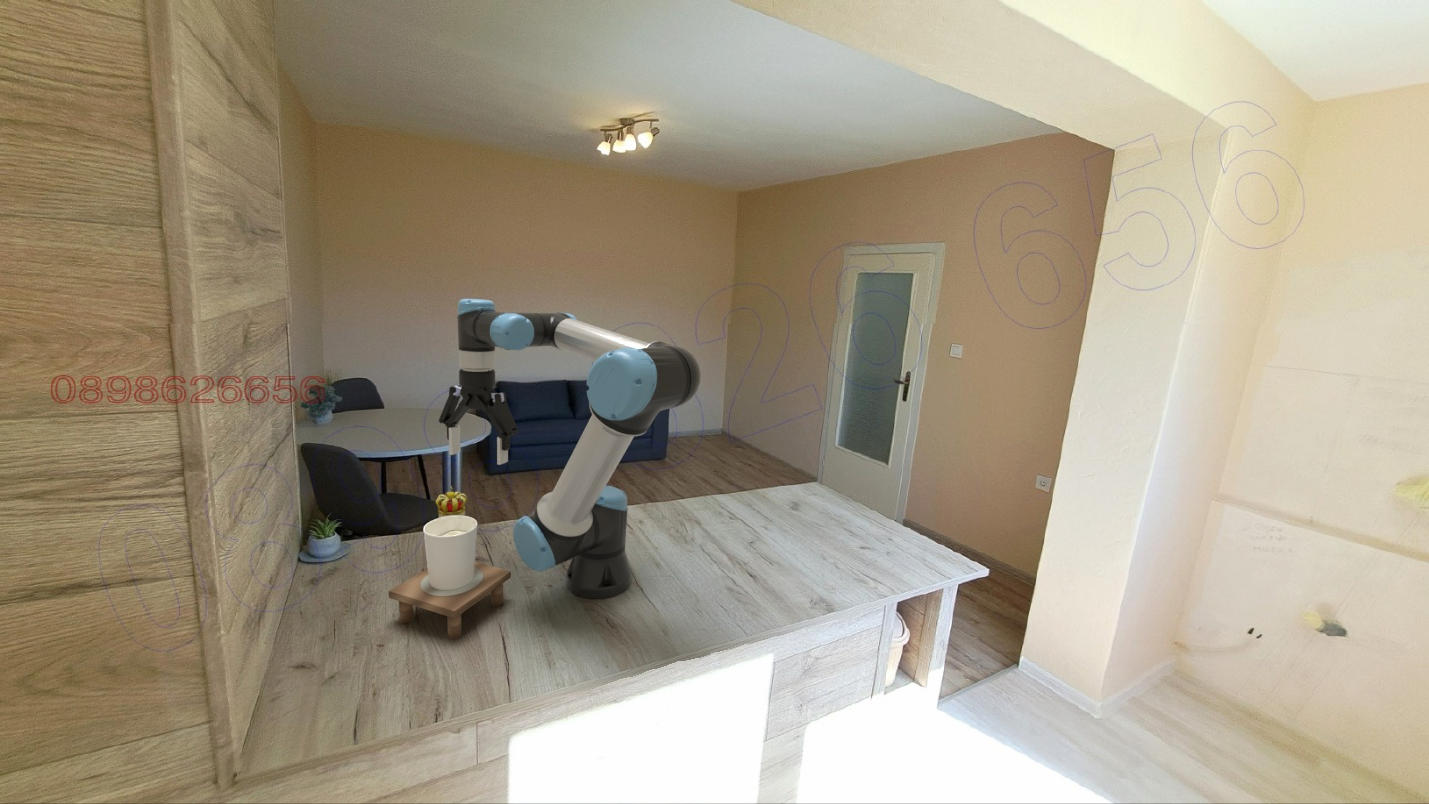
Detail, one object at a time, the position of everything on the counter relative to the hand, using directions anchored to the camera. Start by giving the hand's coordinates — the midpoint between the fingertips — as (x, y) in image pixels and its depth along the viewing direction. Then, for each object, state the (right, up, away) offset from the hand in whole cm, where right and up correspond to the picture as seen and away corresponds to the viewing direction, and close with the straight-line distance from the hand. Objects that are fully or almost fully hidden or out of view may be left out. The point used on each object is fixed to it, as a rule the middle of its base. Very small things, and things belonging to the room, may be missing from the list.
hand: (478, 458), depth 126 cm
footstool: (+1, -30, -14) cm, 33 cm away
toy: (-14, -23, +15) cm, 31 cm away
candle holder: (+1, -24, -15) cm, 28 cm away
